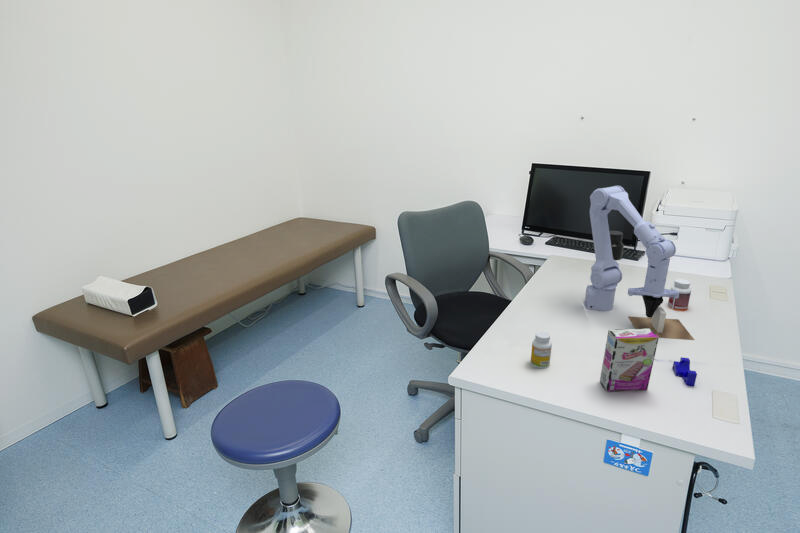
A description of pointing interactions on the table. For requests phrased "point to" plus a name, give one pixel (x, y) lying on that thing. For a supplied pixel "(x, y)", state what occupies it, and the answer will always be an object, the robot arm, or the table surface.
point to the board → (670, 330)
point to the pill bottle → (680, 295)
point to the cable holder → (685, 371)
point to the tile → (658, 319)
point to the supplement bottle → (541, 350)
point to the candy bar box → (628, 359)
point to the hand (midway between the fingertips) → (648, 316)
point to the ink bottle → (616, 244)
